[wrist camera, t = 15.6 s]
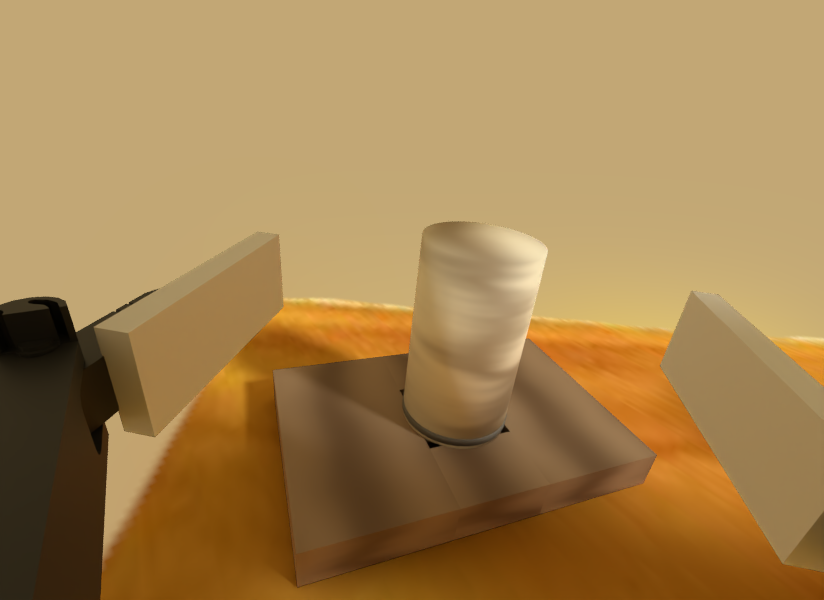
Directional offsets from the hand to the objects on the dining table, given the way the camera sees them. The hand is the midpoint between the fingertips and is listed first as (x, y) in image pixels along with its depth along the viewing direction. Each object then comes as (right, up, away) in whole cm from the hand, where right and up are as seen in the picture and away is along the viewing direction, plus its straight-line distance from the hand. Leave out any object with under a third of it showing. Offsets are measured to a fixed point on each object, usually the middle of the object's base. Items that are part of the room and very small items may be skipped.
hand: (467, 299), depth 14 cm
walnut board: (+1, -10, +16) cm, 18 cm away
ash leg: (+1, -10, +16) cm, 18 cm away
